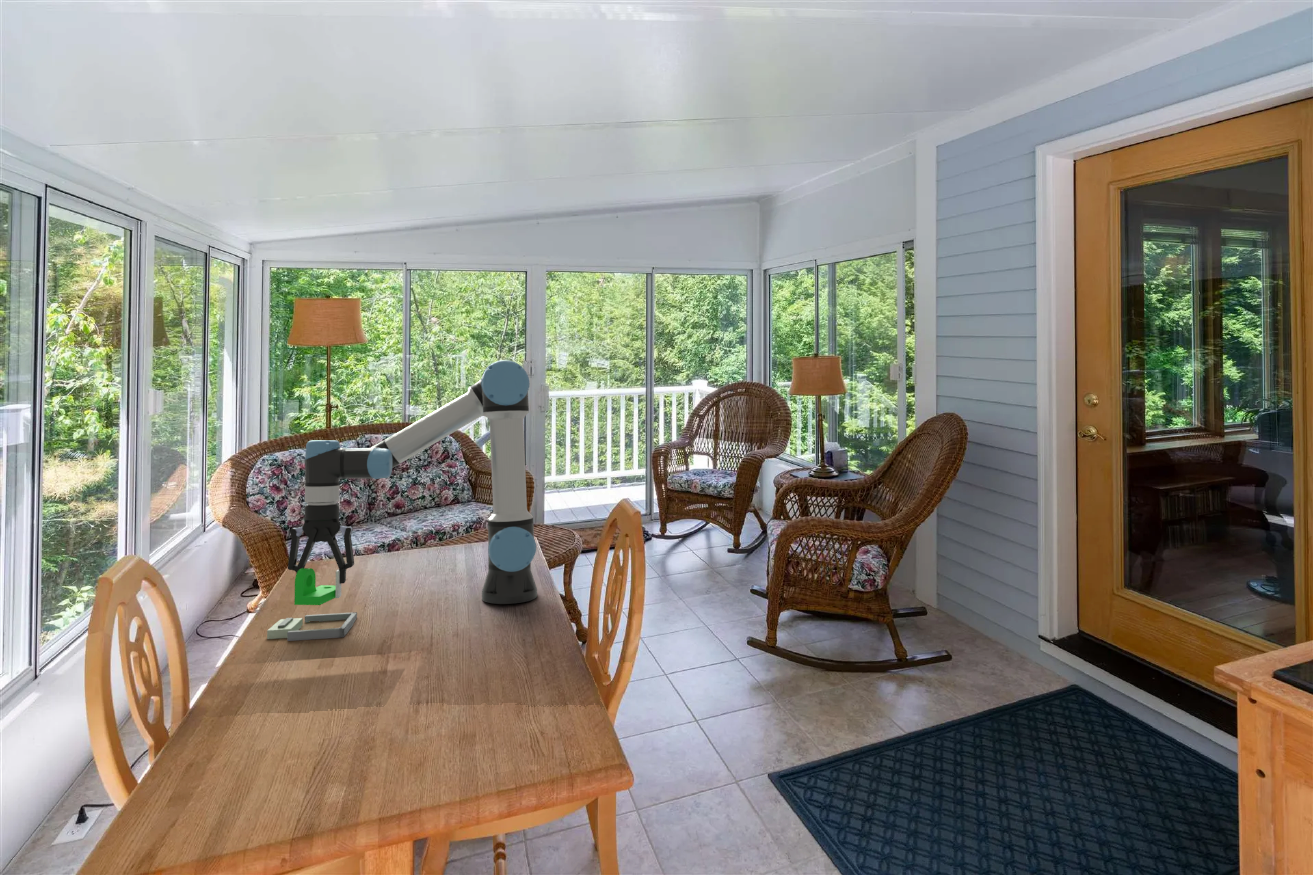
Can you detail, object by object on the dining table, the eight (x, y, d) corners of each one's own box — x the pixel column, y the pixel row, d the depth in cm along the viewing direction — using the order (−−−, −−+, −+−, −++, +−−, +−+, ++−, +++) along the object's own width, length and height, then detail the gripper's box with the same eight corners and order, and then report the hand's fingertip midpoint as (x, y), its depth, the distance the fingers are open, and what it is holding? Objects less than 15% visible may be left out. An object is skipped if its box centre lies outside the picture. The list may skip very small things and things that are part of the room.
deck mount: (356, 619, 171) (356, 609, 171) (343, 637, 156) (343, 626, 156) (283, 624, 167) (283, 614, 167) (263, 642, 152) (263, 631, 152)
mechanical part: (319, 605, 155) (320, 570, 155) (294, 604, 155) (294, 570, 155) (344, 593, 167) (345, 561, 167) (320, 593, 167) (321, 561, 167)
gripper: (368, 501, 168) (368, 592, 168) (281, 502, 163) (280, 596, 163) (363, 504, 161) (362, 599, 160) (271, 505, 156) (270, 603, 156)
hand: (321, 597), depth 162 cm, fingers closed on mechanical part, 7 cm apart
